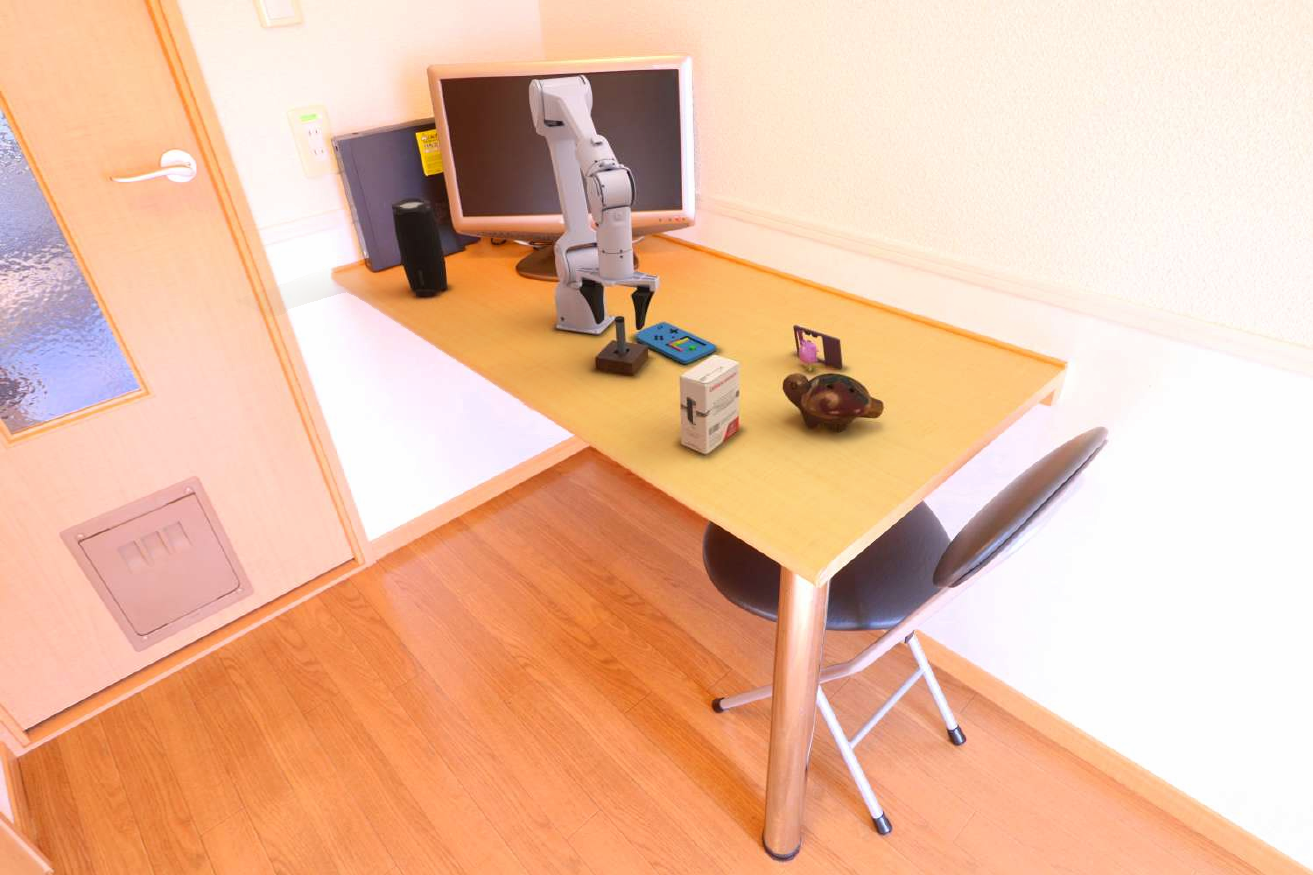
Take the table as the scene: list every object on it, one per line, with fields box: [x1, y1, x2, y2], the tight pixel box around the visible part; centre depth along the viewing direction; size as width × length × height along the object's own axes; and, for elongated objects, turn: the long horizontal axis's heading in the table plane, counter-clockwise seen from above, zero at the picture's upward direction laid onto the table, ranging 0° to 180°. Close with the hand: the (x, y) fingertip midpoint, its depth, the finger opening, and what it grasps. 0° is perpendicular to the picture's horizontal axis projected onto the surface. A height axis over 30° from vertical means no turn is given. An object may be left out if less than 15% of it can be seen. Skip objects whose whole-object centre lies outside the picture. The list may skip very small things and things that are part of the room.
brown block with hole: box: [594, 339, 649, 377], centre depth 127 cm, size 7×7×3 cm
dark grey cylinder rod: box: [614, 315, 627, 355], centre depth 125 cm, size 2×2×9 cm
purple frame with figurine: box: [792, 324, 844, 372], centre depth 123 cm, size 7×5×9 cm
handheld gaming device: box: [635, 321, 717, 365], centre depth 133 cm, size 8×1×15 cm
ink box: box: [679, 354, 741, 455], centre depth 104 cm, size 8×5×12 cm, turn 140°
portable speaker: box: [391, 196, 448, 298], centre depth 154 cm, size 9×9×20 cm
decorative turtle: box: [782, 372, 885, 433], centre depth 108 cm, size 10×15×8 cm, turn 84°
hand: (620, 324), depth 123 cm, fingers open, 7 cm apart
